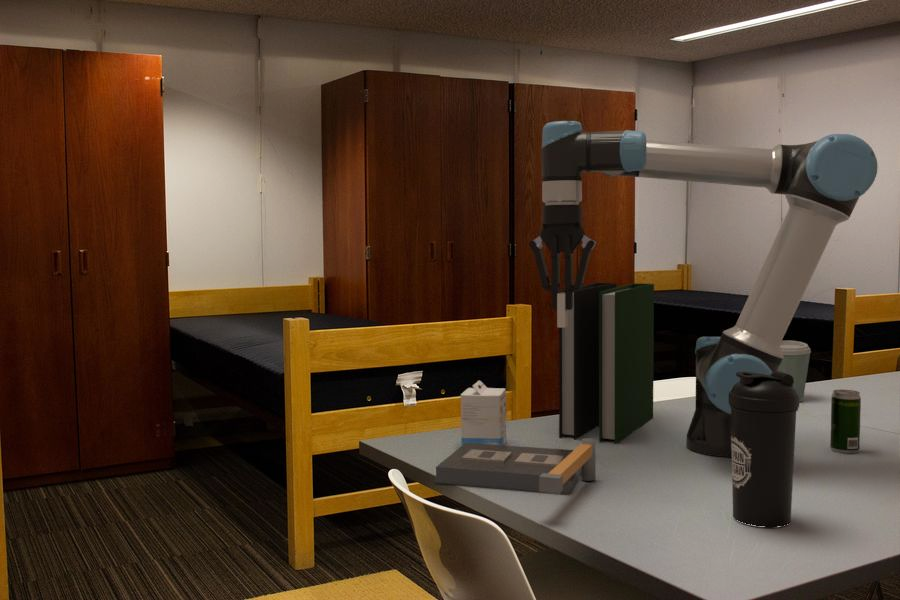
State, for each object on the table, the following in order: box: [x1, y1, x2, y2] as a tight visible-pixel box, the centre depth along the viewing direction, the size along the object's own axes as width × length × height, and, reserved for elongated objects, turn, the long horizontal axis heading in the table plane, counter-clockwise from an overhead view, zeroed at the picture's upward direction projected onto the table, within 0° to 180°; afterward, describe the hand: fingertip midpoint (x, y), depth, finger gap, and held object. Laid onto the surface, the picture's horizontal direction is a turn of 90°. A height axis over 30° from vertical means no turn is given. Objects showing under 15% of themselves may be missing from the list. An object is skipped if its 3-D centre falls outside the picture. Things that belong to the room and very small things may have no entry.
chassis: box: [435, 443, 582, 495], centre depth 160 cm, size 24×18×4 cm
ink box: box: [460, 380, 507, 446], centre depth 181 cm, size 9×8×13 cm
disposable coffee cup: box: [777, 340, 812, 403], centre depth 223 cm, size 11×11×15 cm
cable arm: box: [538, 437, 596, 495], centre depth 145 cm, size 25×3×7 cm, turn 156°
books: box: [558, 282, 655, 445], centre depth 195 cm, size 27×15×32 cm, turn 152°
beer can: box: [829, 389, 862, 455], centre depth 173 cm, size 5×5×12 cm
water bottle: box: [729, 371, 800, 527], centre depth 134 cm, size 10×10×23 cm
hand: (562, 326), depth 167 cm, fingers closed
